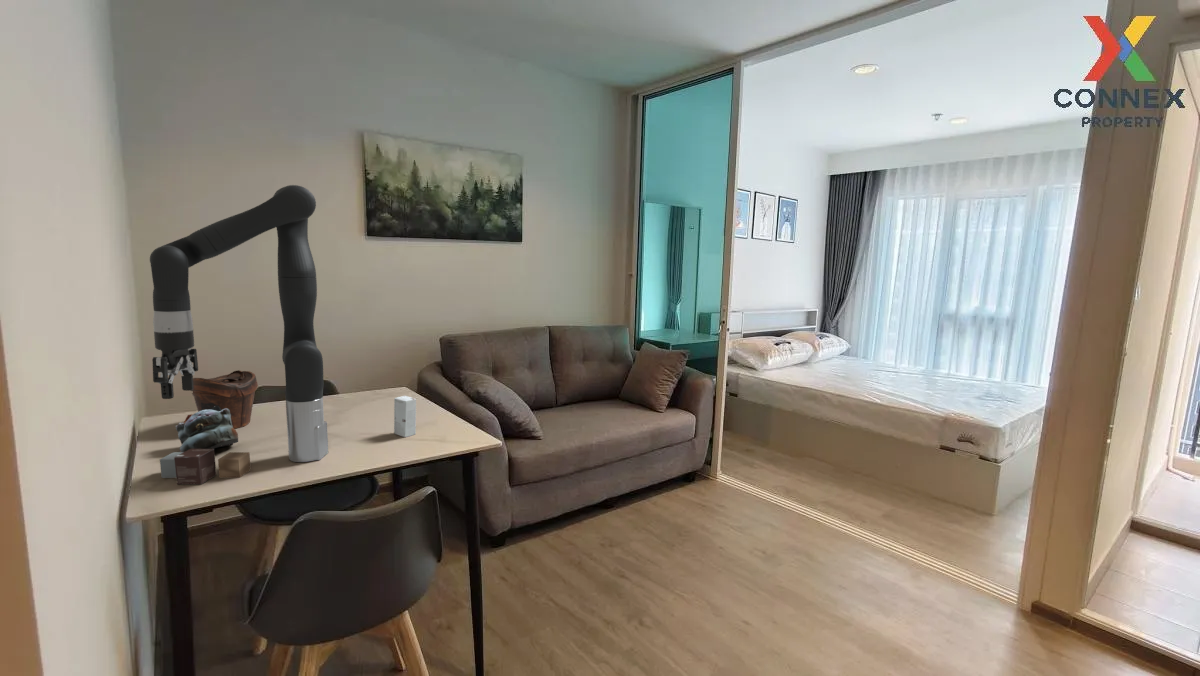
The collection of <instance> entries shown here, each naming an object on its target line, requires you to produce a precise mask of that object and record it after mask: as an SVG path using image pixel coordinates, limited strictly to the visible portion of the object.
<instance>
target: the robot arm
mask: <svg viewBox="0 0 1200 676" xmlns="http://www.w3.org/2000/svg"><path fill="white" fill-rule="evenodd" d="M316 207H317V202H316V198H315V195H314V194H313V193H312V192H311V191H310V190H309V189H308V188H306V187H303V186H302V185H296V184H295V185H294V184H290V185H287V186H282V187H281V188H279V189H278V190H276V191H275V193H274V194H273V196H272V197H270V198H269V199H267V200H266V201H264V202H262V203H261V204H259V205H257V206H255V207H252V208H250V209H247V210H245V211H243V212H241V213H237V214H234V215H231V216H229V217H226V218H223V219H221V220H219V221H216V222H213V223H210V224H209V225H206V226H204V227H202V228H200V229H197V230H195V231H194V232H192V233H190V234H189V235H187V236H184V237H181V238H178V239H177V240H174V241H171V242H169V243H166V244H164V245H161V246H158V247H157V248H155V249H154V250H153V251H152V252H151V253H150V255H149V256H150V257H149V263H150V270H151V277H152V283H153V285H152V286H153V291H152V305H153V321H152V323H153V324H152V325H153V337H154V338H153V339H154V348H155V349H156V350H157V351H158V350H159V351H161V356H153V357H152V382H153V383H158V384H160V393H161V398H162V399H163V400H172V399H174V397H175V396H174V395H175V393H174V392H175V391H174V383H173V381H174V379H175V376H177V375H178V373H179V372H180V375H181V389H182V390H183V391H190V390H193V388H194V387H193V378H194V376H195V374H196V373H195V372H198V371H199V361H198V352H197V349H196V348H194V347H195V339H194V337H195V336H194V324H193V323H194V320H193V316H192V311H191V296H190V289H189V275H190V273H189V272H190V271H189V268H191V267H193V266H195V265H198V264H199V263H202V262H203V261H205V260H209V259H213V258H215V257H218V256H220V255H222V254H224V253H226V252H228V251H230V250H233V249H235V248H237V247H238V246H241V245H242V244H244V243H246V242H248V241H249V240H252V239H253V238H255V237H258V236H259V235H261V234H263V233H265V232H268V231H270V230H273V229H275V228H276V233H277V281H278V284H277V285H278V295H279V302H280V303H279V304H280V307H281V314H282V319H283V343H282V345H283V346H282V355H281V356H282V363H283V364H284V372H285V373H284V374H285V391H284V392H285V393H284V395H285V409H286V410H285V411H286V427H287V428H286V430H287V431H286V432H287V444H288V445H287V446H288V451H287V452H288V458H289V460H290V461H291V462H294V463H306V462H312V461H320V460H322V459H323V458H324V457H326V455H327V454H328V453H329V437H328V434H329V432H328V422H327V420H325V416H324V414H325V413H324V412H325V411H324V397H323V396H324V394H323V393H324V387H325V386H324V385H325V384H324V360H323V355H322V353H321V351H320V349H319V348H318V347H317V342H316V337H315V328H314V318H315V311H316V305H317V298H318V297H317V296H318V283H317V271H316V270H317V269H316V265H315V261H314V257H313V254H312V251H311V248H310V243H309V239H308V238H309V237H308V234H309V233H308V228H309V227H308V226H309V218H310V217H311V216H312V215H313V214H314V213H315V210H316ZM159 374H160V375H159Z"/></svg>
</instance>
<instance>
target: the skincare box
mask: <svg viewBox="0 0 1200 676" xmlns="http://www.w3.org/2000/svg"><path fill="white" fill-rule="evenodd" d="M393 402H394V404H393V405H394V407H393V410H394V411H393V418H394V419H393V422H394V423H393V424H394V425H393V428H394V429H393V433H394V435H397V436H399V437H402V438H408V437H411V436H414V435H416V432H417V426H416V424H417V423H416V422H417V399H416V398H414V397H412V396H408V395H402V396H397V397H394V400H393Z"/></svg>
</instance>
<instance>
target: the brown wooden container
mask: <svg viewBox="0 0 1200 676" xmlns="http://www.w3.org/2000/svg"><path fill="white" fill-rule="evenodd" d="M193 387H194V388H193V390H190V391H191V392H192V393H191V394H192V396H193V399H194V402H195V406H196V408H197V412H199V411H202V410H209V409H211V408H212V407H214V406H219V407H220V408H221V410H223V409H229V410H230V414H231V422H232V426H233V428H234V429H235V430H236V429H238V428H239V429H240V428H243V427H245V426H247V425H249V424H251V423H250V422H251V420H252V419H251V417H252V410H253V405H254V399H255V393H256V391H257V389H258V387H259V385H258V381H257V377H256V374H255V373H253V371H250V370H249V371H248V370H247V371H246V370H240V369H239V370H234V371H232V372H230V373H229V374H225V375H220V376H216V377H210V378H203V377H193Z"/></svg>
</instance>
